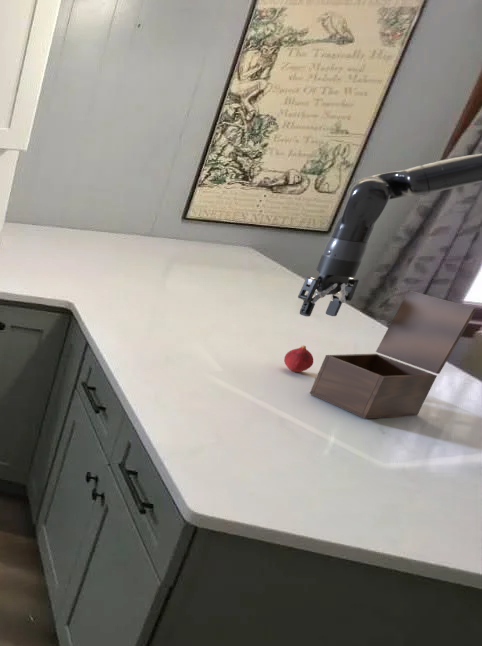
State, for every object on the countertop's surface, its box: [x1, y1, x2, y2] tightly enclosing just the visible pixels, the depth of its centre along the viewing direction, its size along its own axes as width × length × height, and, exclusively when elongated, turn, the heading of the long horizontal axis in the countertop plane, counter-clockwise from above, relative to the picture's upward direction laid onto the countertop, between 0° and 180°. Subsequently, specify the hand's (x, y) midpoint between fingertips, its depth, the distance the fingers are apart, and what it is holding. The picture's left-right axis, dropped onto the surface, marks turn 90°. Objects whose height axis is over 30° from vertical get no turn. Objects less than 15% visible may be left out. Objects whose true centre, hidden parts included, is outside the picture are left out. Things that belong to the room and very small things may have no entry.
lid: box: [375, 290, 477, 375], centre depth 150 cm, size 16×13×5 cm
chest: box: [309, 353, 438, 420], centre depth 153 cm, size 16×13×11 cm
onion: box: [283, 344, 314, 373], centre depth 171 cm, size 6×6×8 cm
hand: (317, 315), depth 166 cm, fingers open, 8 cm apart
